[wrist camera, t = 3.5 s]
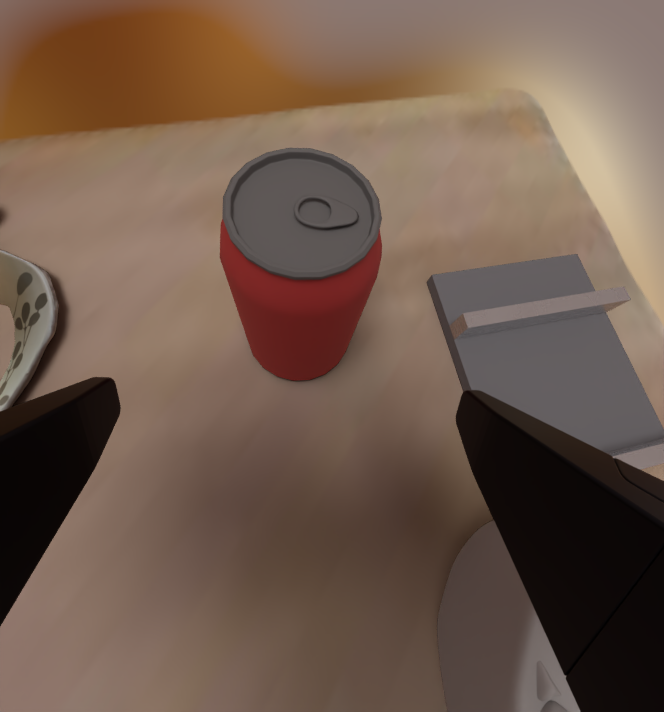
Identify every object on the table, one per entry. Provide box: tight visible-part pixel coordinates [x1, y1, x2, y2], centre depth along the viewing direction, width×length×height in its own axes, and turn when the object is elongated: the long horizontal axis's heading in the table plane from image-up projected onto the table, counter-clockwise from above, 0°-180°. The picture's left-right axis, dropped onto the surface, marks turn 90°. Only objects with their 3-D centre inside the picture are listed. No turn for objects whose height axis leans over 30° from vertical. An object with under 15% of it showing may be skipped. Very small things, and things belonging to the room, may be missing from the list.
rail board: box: [427, 254, 664, 469], centre depth 23 cm, size 12×15×3 cm
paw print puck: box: [437, 520, 580, 712], centre depth 15 cm, size 10×13×9 cm
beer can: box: [220, 148, 382, 381], centre depth 18 cm, size 7×7×12 cm
